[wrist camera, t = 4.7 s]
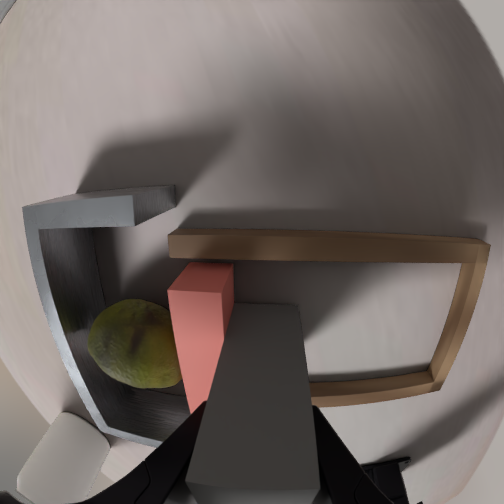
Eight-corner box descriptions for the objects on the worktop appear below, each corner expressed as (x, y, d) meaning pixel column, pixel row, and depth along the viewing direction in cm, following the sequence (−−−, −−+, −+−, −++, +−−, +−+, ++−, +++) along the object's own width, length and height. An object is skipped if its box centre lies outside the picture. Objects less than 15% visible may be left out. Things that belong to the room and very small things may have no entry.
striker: (290, 380, 14) (293, 529, 6) (202, 375, 14) (159, 513, 6) (300, 265, 12) (341, 447, 3) (190, 262, 12) (76, 411, 4)
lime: (208, 348, 14) (184, 417, 9) (136, 353, 15) (99, 409, 10) (181, 274, 13) (137, 330, 8) (106, 288, 14) (52, 335, 9)
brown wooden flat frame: (433, 379, 14) (439, 390, 13) (196, 388, 15) (192, 401, 14) (478, 238, 11) (490, 244, 10) (177, 228, 12) (167, 235, 11)
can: (62, 401, 18) (6, 483, 7) (117, 439, 19) (74, 530, 8) (59, 421, 20) (15, 490, 9) (105, 453, 21) (70, 528, 10)
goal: (200, 407, 16) (187, 454, 12) (122, 392, 16) (100, 430, 13) (174, 185, 12) (132, 195, 8) (75, 193, 12) (22, 207, 8)
